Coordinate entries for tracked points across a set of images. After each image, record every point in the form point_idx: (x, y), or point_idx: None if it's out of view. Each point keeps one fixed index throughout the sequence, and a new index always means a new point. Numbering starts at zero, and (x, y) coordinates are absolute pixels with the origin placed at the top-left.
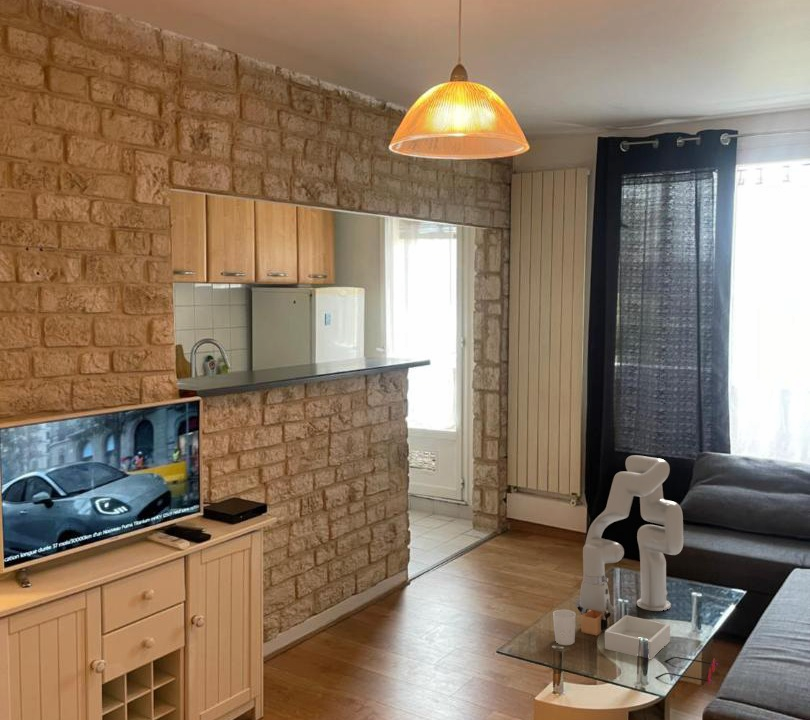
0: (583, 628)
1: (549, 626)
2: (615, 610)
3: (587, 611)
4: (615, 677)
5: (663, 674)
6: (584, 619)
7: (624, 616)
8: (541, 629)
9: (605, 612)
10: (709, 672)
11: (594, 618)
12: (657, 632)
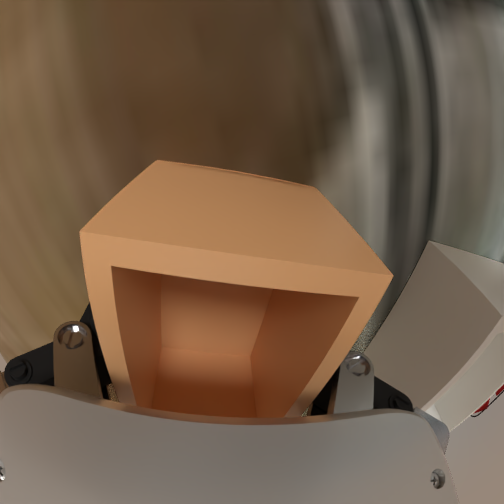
0: (164, 368)
1: (6, 320)
2: (444, 433)
3: (112, 381)
4: None
5: None
6: None
7: (483, 344)
8: (15, 352)
9: (351, 411)
10: (479, 410)
11: None
12: (497, 388)
